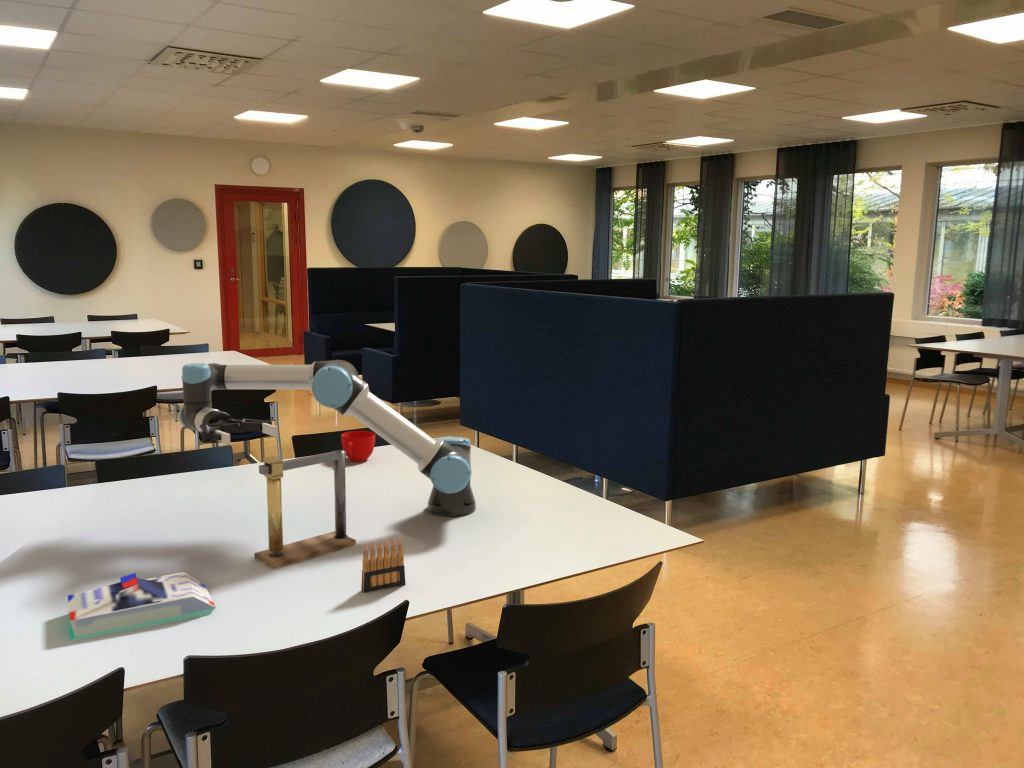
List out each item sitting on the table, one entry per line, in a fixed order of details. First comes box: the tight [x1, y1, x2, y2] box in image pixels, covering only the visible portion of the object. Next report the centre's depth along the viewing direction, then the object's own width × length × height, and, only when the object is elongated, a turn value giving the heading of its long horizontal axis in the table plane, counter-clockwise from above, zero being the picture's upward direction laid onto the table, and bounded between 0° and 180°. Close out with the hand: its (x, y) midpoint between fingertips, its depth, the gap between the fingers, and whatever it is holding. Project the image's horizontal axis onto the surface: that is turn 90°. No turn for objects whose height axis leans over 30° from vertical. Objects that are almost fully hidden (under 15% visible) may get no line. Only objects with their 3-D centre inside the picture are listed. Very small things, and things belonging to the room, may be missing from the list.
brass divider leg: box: [263, 455, 284, 553], centre depth 212 cm, size 4×4×25 cm
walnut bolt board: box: [253, 530, 357, 570], centre depth 221 cm, size 25×10×2 cm, turn 136°
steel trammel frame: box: [258, 449, 347, 538], centre depth 218 cm, size 25×3×24 cm, turn 136°
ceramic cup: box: [340, 430, 376, 462], centre depth 315 cm, size 13×17×10 cm
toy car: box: [67, 571, 216, 642], centre depth 182 cm, size 17×30×9 cm, turn 120°
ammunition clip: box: [360, 536, 406, 594], centre depth 197 cm, size 11×2×12 cm, turn 120°
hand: (253, 435), depth 216 cm, fingers open, 13 cm apart
